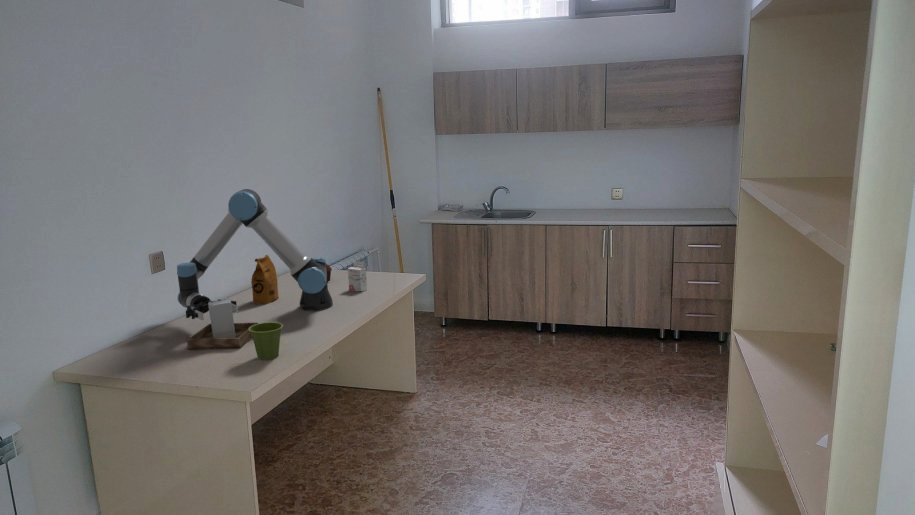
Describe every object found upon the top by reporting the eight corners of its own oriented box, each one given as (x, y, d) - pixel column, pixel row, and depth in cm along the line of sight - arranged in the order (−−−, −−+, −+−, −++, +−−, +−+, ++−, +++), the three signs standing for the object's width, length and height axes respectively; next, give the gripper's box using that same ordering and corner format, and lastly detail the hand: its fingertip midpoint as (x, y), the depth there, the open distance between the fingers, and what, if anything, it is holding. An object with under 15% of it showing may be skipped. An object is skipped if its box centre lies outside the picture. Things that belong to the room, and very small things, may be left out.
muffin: (327, 284, 326) (325, 266, 324) (308, 284, 328) (306, 266, 327) (335, 279, 338) (334, 261, 336) (317, 278, 340) (315, 261, 338)
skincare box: (234, 334, 243) (230, 298, 240) (236, 338, 237) (232, 301, 234) (211, 337, 239) (207, 301, 236) (213, 342, 234) (209, 305, 231)
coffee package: (249, 303, 292) (245, 259, 288) (264, 297, 304) (260, 254, 299) (268, 304, 289) (263, 259, 285) (282, 297, 301) (277, 254, 297)
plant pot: (267, 364, 211) (263, 333, 209) (244, 359, 217) (241, 329, 215) (292, 354, 221) (289, 324, 219) (270, 349, 227) (267, 320, 225)
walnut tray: (258, 331, 248) (258, 322, 247) (240, 348, 228) (239, 338, 228) (210, 332, 249) (209, 323, 248) (188, 349, 229) (186, 339, 228)
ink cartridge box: (348, 290, 312) (346, 262, 309) (355, 288, 316) (353, 260, 313) (361, 292, 307) (359, 263, 304) (367, 289, 311) (365, 261, 308)
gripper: (229, 305, 261) (251, 315, 246) (168, 318, 245) (188, 329, 229) (227, 289, 260) (249, 297, 245) (166, 300, 243) (186, 310, 228)
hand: (219, 313), depth 237 cm, fingers open, 13 cm apart
